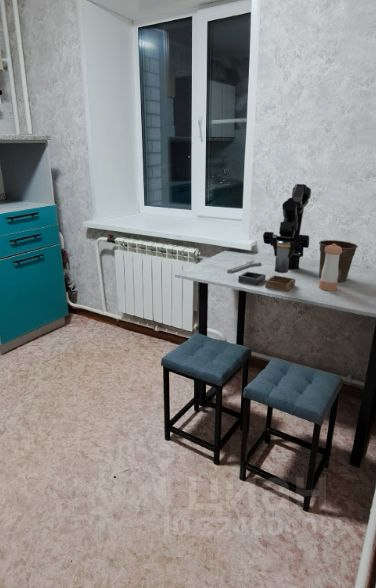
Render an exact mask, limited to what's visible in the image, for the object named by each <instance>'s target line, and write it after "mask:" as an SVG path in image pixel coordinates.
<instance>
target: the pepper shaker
mask: <svg viewBox="0 0 376 588" xmlns="http://www.w3.org/2000/svg"><path fill="white" fill-rule="evenodd" d="M324 251H325V253H326V256H325V263H324V266H323V269H322V275H321V277H320V279H319V284H318V288H319V289H320V290H323V291H329V292H333V291H337V290H338V286H339V285H338V283H339V281H337V279H338V263H339V256H340V254H341V253H342V248H341V247H339V246H337V245H336V244H332V245H328V246H326V247H325V249H324Z"/></svg>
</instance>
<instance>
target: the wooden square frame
mask: <svg viewBox="0 0 376 588" xmlns="http://www.w3.org/2000/svg"><path fill="white" fill-rule="evenodd" d="M295 285H296V279H295V278H292V277H288V276H287V277H286V276H281V275H275V274H273V275H272V276H270V277H269V278H268V279H265V286H264V287H265V288H268V289H272V290H278V291H281V292H282V291H283V292H288V291H290V290H291V289H292V288H294V287H295Z"/></svg>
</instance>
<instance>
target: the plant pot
mask: <svg viewBox="0 0 376 588" xmlns="http://www.w3.org/2000/svg"><path fill="white" fill-rule="evenodd" d="M332 244H336V245H337V246H339V247H341V248H342V253H341V254H340V256H339V263H338V279H337V281H338V283H339V282H340V283H343V282H346V281H347V280H348V277H349V272H350V269H351V267H352V262H353V258H354V257H355V255H356V252H357V249H358V247H359V246H358V245H357V244H356V243H352V242H349V241H343V240H335V239H334V240H333V239H332V240H331V239H330V240H329V239H327V240H324V239H323V240H320V241H319V252H320V253H319V254H320V255H319V273H318V277H319V278H321V275H322V269H323V266H324V263H325V256H326V253H325V251H324V249H325V247H326V246H328V245H332Z"/></svg>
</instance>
